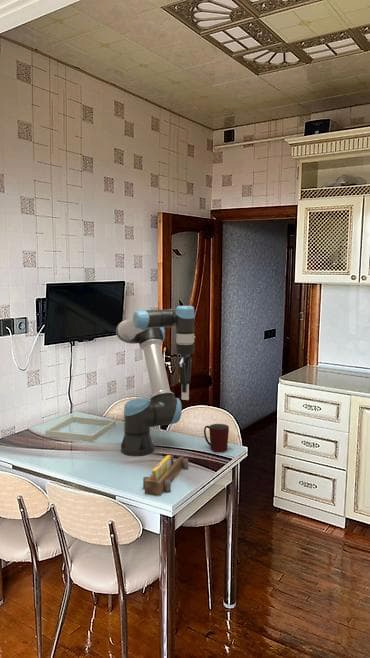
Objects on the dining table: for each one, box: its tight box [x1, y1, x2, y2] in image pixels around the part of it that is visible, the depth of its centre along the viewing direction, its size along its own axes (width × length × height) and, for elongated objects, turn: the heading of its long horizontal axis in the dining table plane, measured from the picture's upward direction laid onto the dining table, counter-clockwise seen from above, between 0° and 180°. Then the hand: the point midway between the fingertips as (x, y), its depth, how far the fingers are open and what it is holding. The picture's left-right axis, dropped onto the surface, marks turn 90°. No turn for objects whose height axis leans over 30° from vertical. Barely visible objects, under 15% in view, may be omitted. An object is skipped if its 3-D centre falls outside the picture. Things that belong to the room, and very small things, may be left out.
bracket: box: [142, 454, 189, 497], centre depth 195 cm, size 11×28×5 cm, turn 163°
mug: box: [203, 423, 230, 453], centre depth 228 cm, size 12×9×11 cm
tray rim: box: [44, 415, 117, 443], centre depth 255 cm, size 26×26×3 cm
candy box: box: [151, 454, 172, 481], centre depth 192 cm, size 16×2×8 cm, turn 162°
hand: (185, 399), depth 207 cm, fingers closed
